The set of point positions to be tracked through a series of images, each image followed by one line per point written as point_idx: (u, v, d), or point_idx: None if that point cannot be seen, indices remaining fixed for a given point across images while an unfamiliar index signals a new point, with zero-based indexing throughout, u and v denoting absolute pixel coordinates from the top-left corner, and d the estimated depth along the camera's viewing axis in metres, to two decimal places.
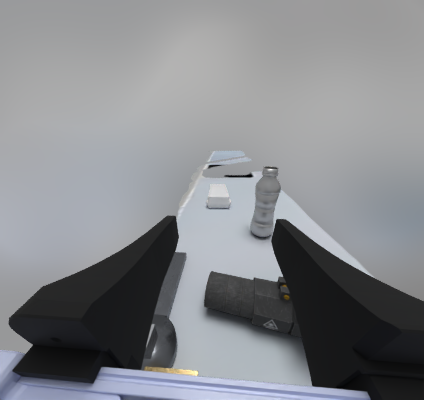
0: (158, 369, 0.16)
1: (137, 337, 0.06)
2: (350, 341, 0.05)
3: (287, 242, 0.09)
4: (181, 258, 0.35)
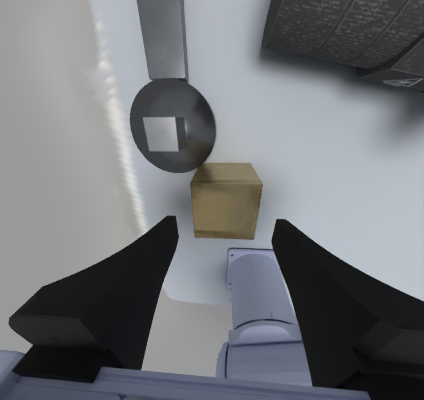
0: (209, 185, 0.12)
1: (137, 337, 0.06)
2: (350, 341, 0.05)
3: (287, 242, 0.09)
4: None
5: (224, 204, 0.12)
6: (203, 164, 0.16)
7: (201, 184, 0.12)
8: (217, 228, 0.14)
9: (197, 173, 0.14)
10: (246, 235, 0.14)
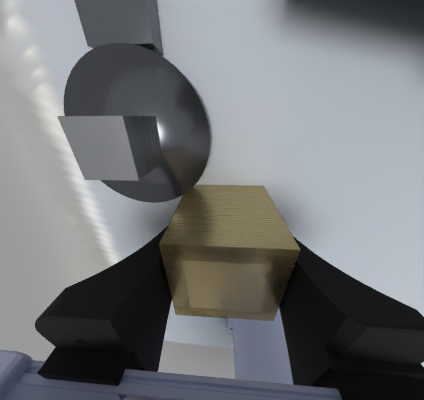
0: (195, 248, 0.06)
1: (155, 338, 0.06)
2: (323, 339, 0.05)
3: None
4: None
5: (224, 276, 0.07)
6: (192, 188, 0.11)
7: (180, 245, 0.06)
8: (212, 306, 0.08)
9: (178, 211, 0.08)
10: (262, 315, 0.08)
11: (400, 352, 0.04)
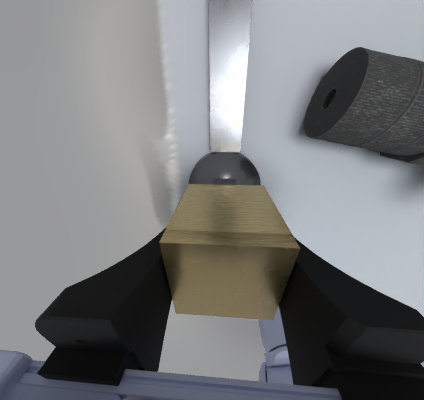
0: (195, 247, 0.06)
1: (155, 338, 0.06)
2: (323, 339, 0.05)
3: None
4: None
5: (224, 275, 0.07)
6: (192, 188, 0.11)
7: (180, 244, 0.06)
8: (212, 304, 0.08)
9: (179, 210, 0.08)
10: (262, 314, 0.08)
11: (400, 352, 0.04)
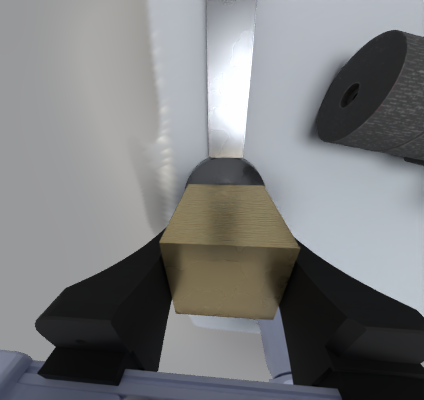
0: (195, 247, 0.06)
1: (155, 338, 0.06)
2: (323, 339, 0.05)
3: None
4: None
5: (224, 275, 0.07)
6: (192, 188, 0.11)
7: (180, 244, 0.06)
8: (212, 305, 0.08)
9: (179, 210, 0.08)
10: (262, 314, 0.08)
11: (400, 352, 0.04)
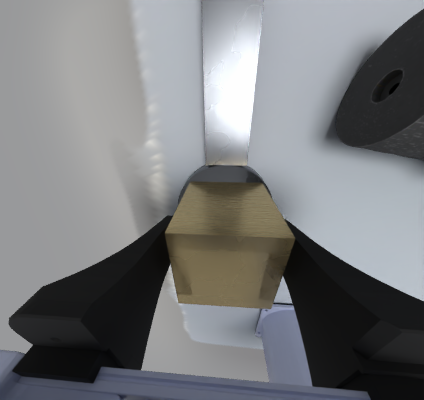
0: (198, 237, 0.07)
1: (137, 337, 0.06)
2: (350, 341, 0.05)
3: None
4: None
5: (225, 264, 0.07)
6: (194, 184, 0.11)
7: (184, 234, 0.07)
8: (213, 294, 0.09)
9: (182, 205, 0.09)
10: (260, 303, 0.09)
11: None
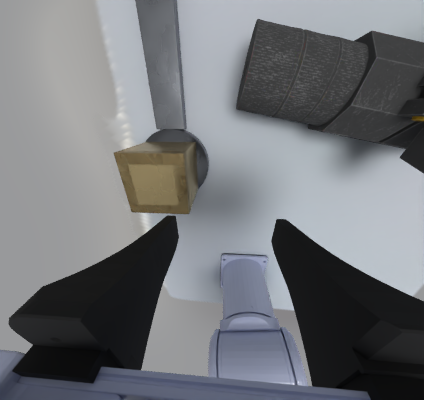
0: (132, 155, 0.12)
1: (137, 337, 0.06)
2: (350, 341, 0.05)
3: (287, 242, 0.09)
4: None
5: (151, 175, 0.13)
6: (148, 142, 0.16)
7: (125, 154, 0.12)
8: (151, 202, 0.14)
9: (132, 147, 0.14)
10: (181, 209, 0.14)
11: None
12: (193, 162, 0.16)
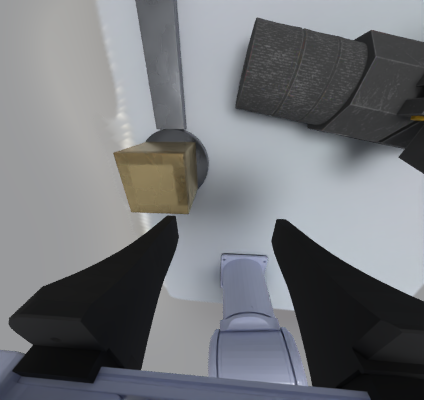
0: (131, 155, 0.12)
1: (137, 337, 0.06)
2: (350, 341, 0.05)
3: (287, 242, 0.09)
4: None
5: (151, 175, 0.13)
6: (147, 142, 0.16)
7: (124, 154, 0.12)
8: (150, 202, 0.14)
9: (131, 147, 0.14)
10: (180, 209, 0.14)
11: None
12: (193, 162, 0.16)
